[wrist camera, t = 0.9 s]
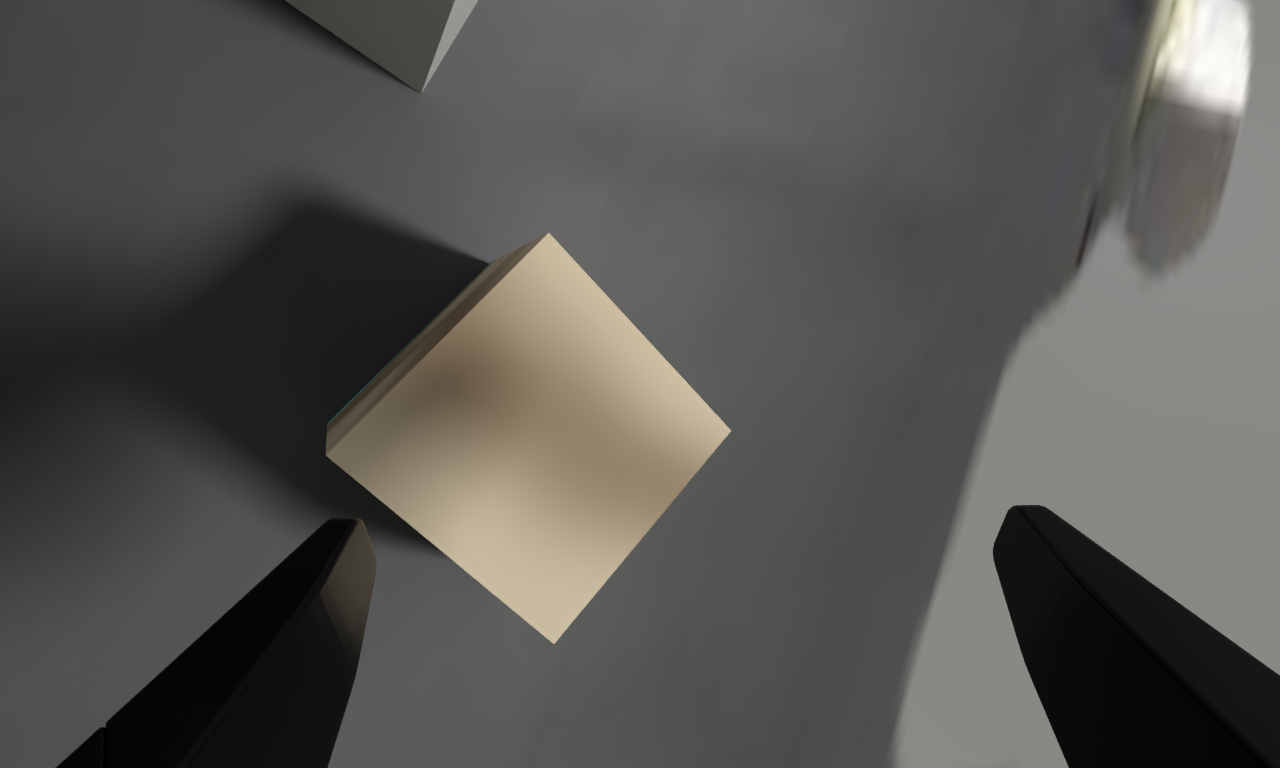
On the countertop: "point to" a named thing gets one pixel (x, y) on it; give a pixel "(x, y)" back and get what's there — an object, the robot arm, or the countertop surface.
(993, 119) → the countertop surface
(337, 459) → the maple cube
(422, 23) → the grey cube
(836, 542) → the countertop surface
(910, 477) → the countertop surface
